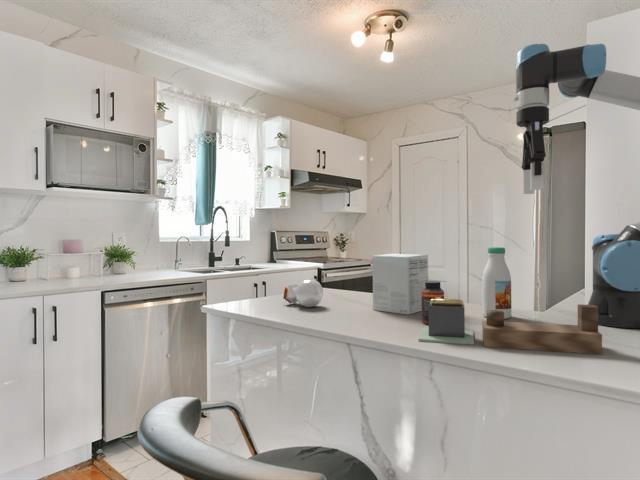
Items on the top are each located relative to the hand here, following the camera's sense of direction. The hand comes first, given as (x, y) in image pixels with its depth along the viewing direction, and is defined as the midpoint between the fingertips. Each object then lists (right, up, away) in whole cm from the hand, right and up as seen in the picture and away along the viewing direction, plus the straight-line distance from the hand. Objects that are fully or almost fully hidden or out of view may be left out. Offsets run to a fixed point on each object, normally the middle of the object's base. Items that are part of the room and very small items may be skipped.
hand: (532, 192), depth 110 cm
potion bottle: (-60, -35, +35) cm, 78 cm away
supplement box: (-29, -35, +26) cm, 52 cm away
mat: (-25, -35, -9) cm, 44 cm away
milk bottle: (-4, -35, +13) cm, 37 cm away
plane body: (-8, -35, -18) cm, 40 cm away
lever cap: (-25, -35, -9) cm, 44 cm away
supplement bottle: (-24, -35, +6) cm, 43 cm away
